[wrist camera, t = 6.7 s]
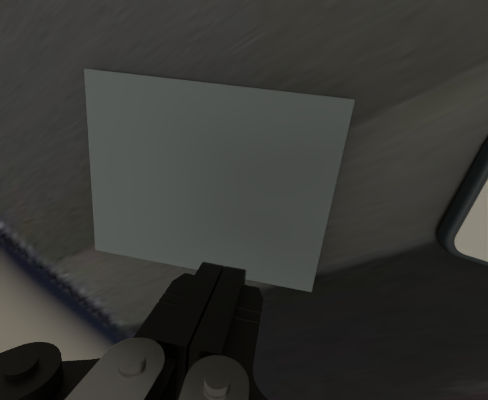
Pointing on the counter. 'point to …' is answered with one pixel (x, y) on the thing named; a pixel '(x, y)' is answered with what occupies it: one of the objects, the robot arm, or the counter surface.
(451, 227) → the smartphone
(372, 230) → the counter surface
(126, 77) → the mat
